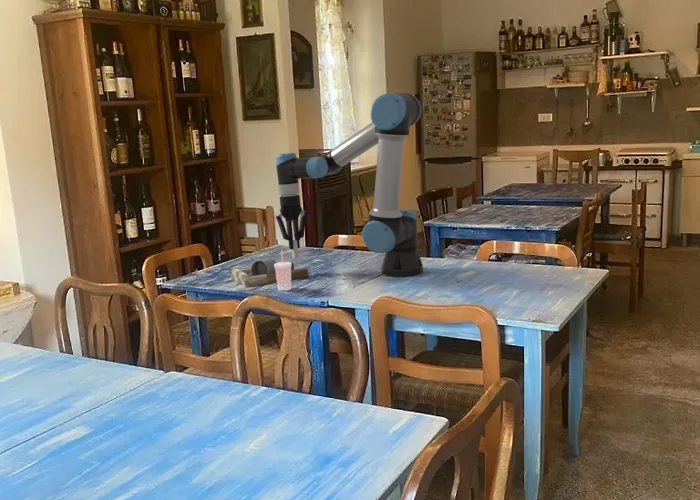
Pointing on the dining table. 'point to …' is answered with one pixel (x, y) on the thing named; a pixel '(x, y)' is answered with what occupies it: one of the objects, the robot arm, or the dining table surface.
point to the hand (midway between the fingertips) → (295, 257)
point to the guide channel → (263, 276)
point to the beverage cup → (283, 274)
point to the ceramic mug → (263, 267)
